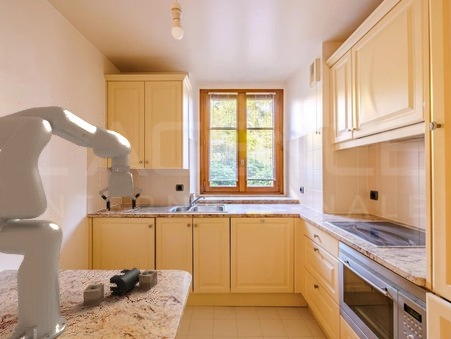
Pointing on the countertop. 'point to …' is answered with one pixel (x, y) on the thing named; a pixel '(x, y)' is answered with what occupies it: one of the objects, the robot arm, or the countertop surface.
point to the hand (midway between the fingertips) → (121, 209)
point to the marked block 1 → (93, 295)
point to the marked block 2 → (148, 279)
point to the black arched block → (124, 281)
